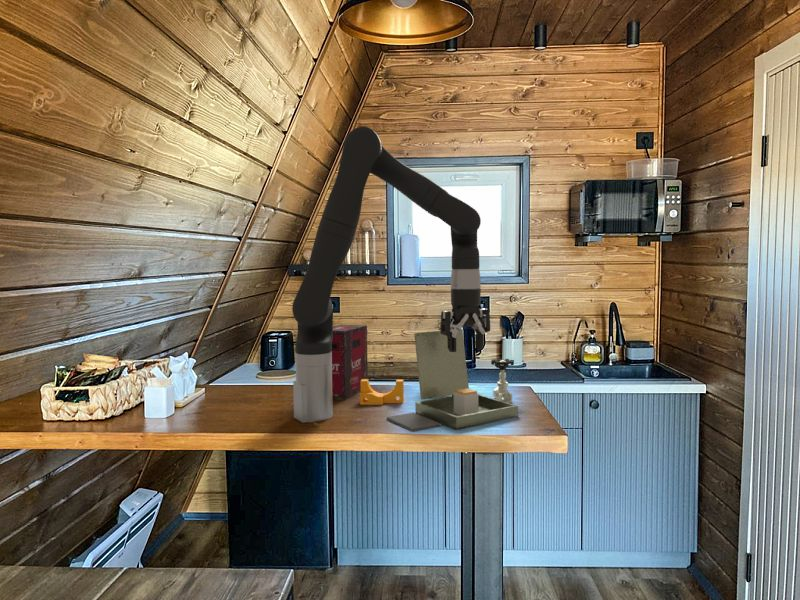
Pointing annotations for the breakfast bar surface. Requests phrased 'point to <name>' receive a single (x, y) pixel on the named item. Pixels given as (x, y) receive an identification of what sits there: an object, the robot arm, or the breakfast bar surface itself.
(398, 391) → the pipe clamp
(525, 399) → the breakfast bar surface
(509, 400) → the valve
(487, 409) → the case
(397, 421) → the mat
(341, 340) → the box
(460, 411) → the block
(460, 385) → the lid
